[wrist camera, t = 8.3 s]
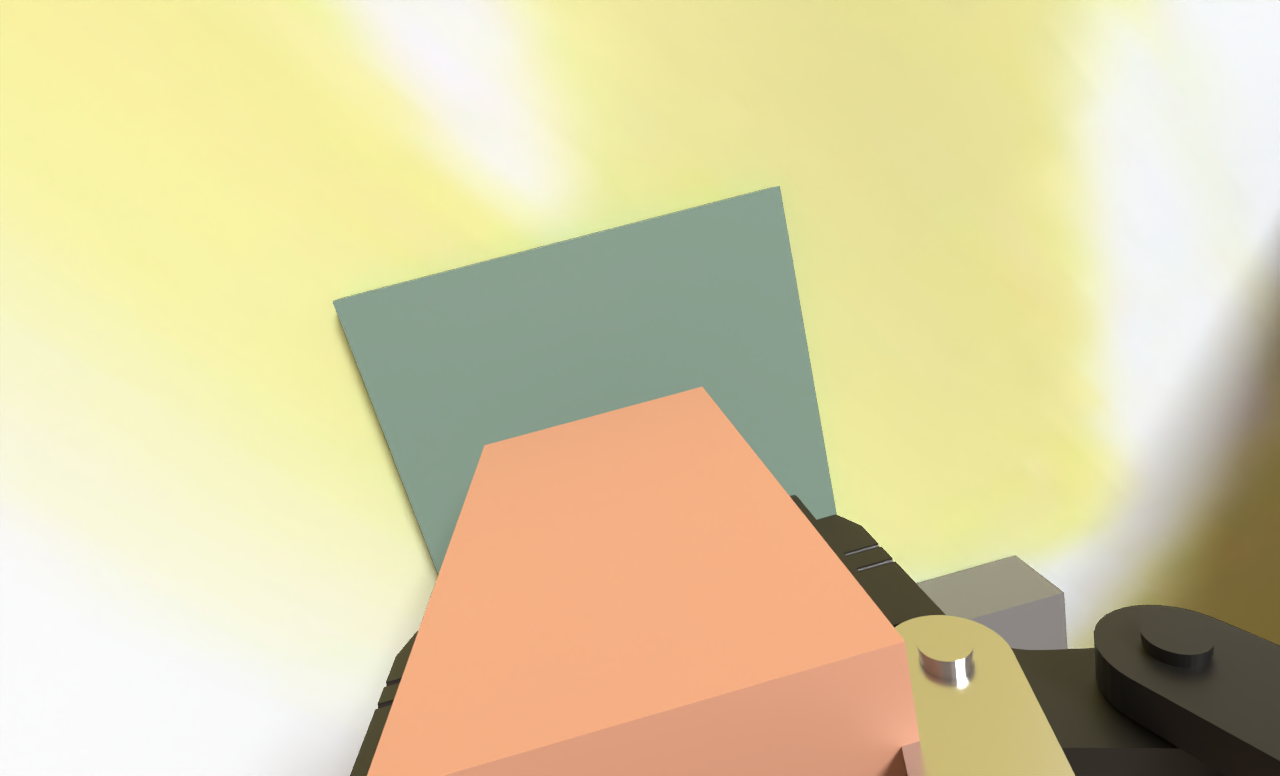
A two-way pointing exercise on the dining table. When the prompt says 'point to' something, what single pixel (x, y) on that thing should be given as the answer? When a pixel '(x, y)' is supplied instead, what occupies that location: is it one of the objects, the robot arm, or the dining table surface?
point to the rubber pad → (594, 348)
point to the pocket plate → (1005, 602)
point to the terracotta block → (645, 618)
